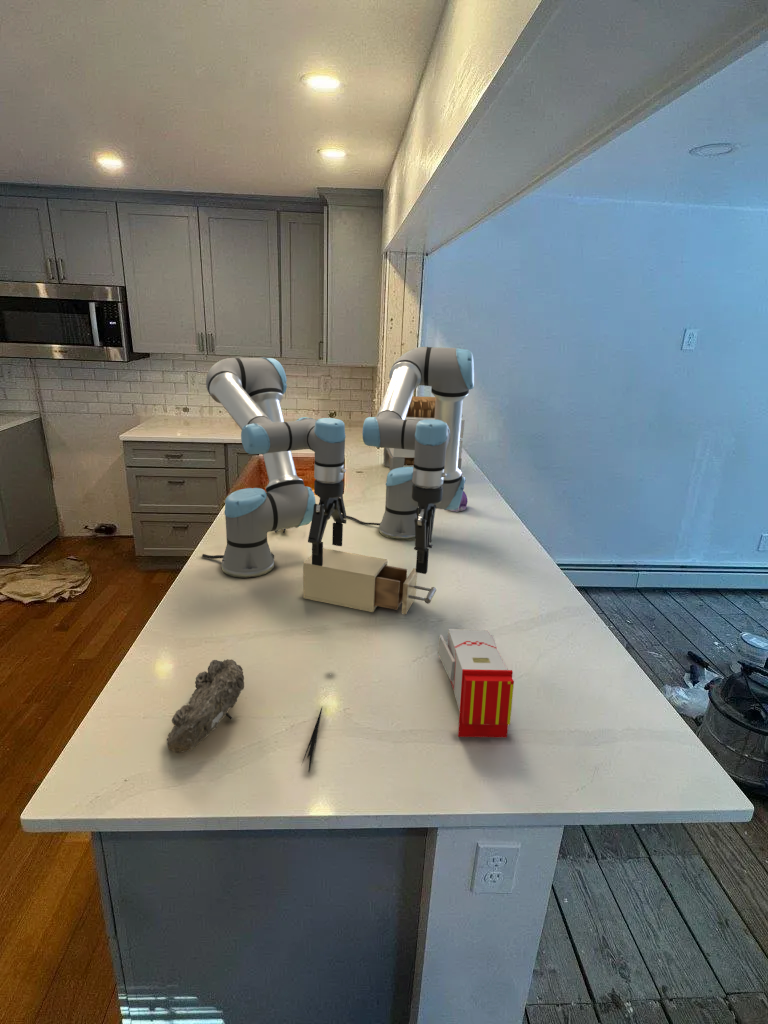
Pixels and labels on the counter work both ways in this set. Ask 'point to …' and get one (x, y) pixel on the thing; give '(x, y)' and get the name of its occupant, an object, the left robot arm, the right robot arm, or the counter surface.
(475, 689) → the toy
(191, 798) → the counter surface
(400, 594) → the drawer
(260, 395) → the left robot arm
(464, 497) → the figurine
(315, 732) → the feather
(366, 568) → the cabinet
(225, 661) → the fossil
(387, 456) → the transformer
